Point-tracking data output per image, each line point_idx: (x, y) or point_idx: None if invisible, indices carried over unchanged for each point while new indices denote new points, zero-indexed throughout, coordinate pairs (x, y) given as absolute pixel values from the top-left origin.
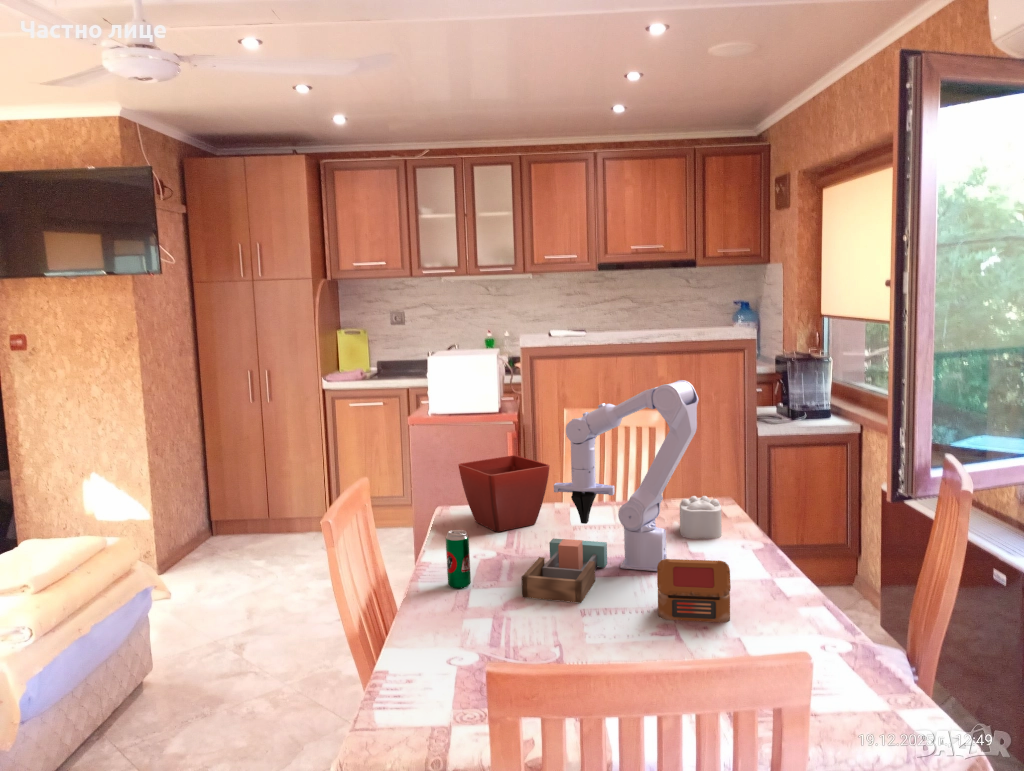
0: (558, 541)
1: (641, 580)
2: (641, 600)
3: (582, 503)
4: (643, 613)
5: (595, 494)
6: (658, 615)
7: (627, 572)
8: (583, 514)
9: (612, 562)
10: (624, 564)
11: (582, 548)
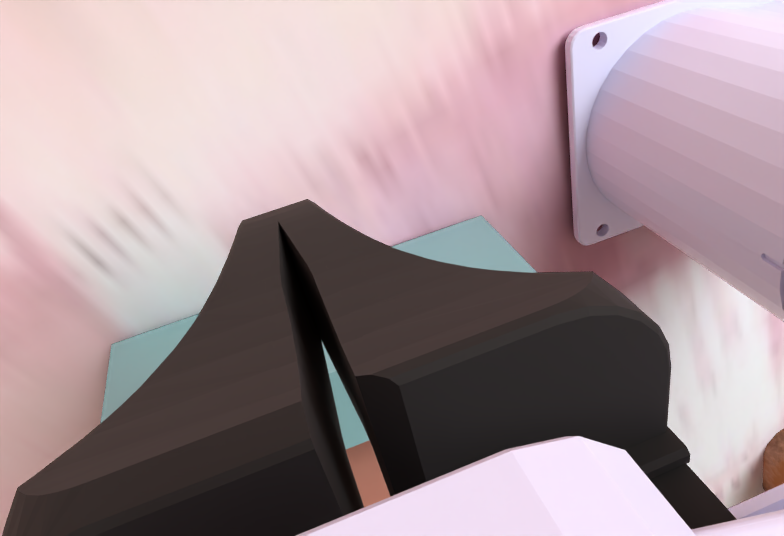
0: None
1: (693, 303)
2: (710, 443)
3: (360, 505)
4: (723, 500)
5: (667, 455)
6: (765, 490)
7: (616, 257)
8: (350, 397)
9: (497, 169)
10: (596, 207)
11: None
